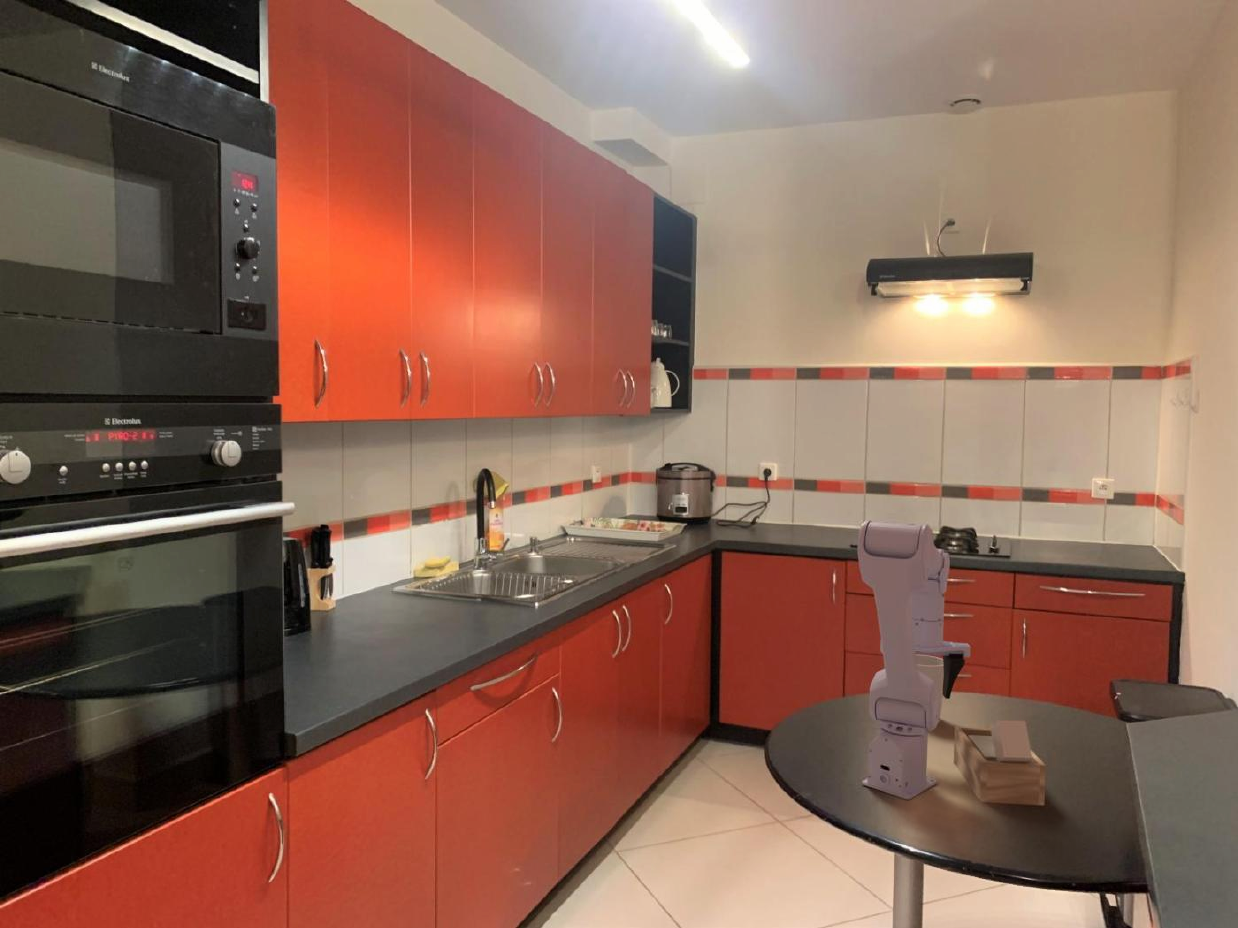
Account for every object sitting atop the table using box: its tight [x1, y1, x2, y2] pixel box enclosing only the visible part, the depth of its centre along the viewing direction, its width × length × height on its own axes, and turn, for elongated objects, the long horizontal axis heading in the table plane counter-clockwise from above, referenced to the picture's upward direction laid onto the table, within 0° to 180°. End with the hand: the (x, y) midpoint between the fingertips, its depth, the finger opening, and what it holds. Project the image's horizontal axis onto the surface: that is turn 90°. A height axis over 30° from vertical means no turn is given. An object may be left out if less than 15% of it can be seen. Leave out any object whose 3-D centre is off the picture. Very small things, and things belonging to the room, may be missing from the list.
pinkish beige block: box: [990, 719, 1032, 763], centre depth 136 cm, size 4×4×6 cm
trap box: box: [953, 726, 1047, 806], centre depth 142 cm, size 15×9×6 cm, turn 174°
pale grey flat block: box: [968, 735, 1031, 763], centre depth 141 cm, size 9×7×4 cm
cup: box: [916, 654, 944, 724], centre depth 170 cm, size 8×8×12 cm
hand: (923, 695), depth 153 cm, fingers open, 7 cm apart
